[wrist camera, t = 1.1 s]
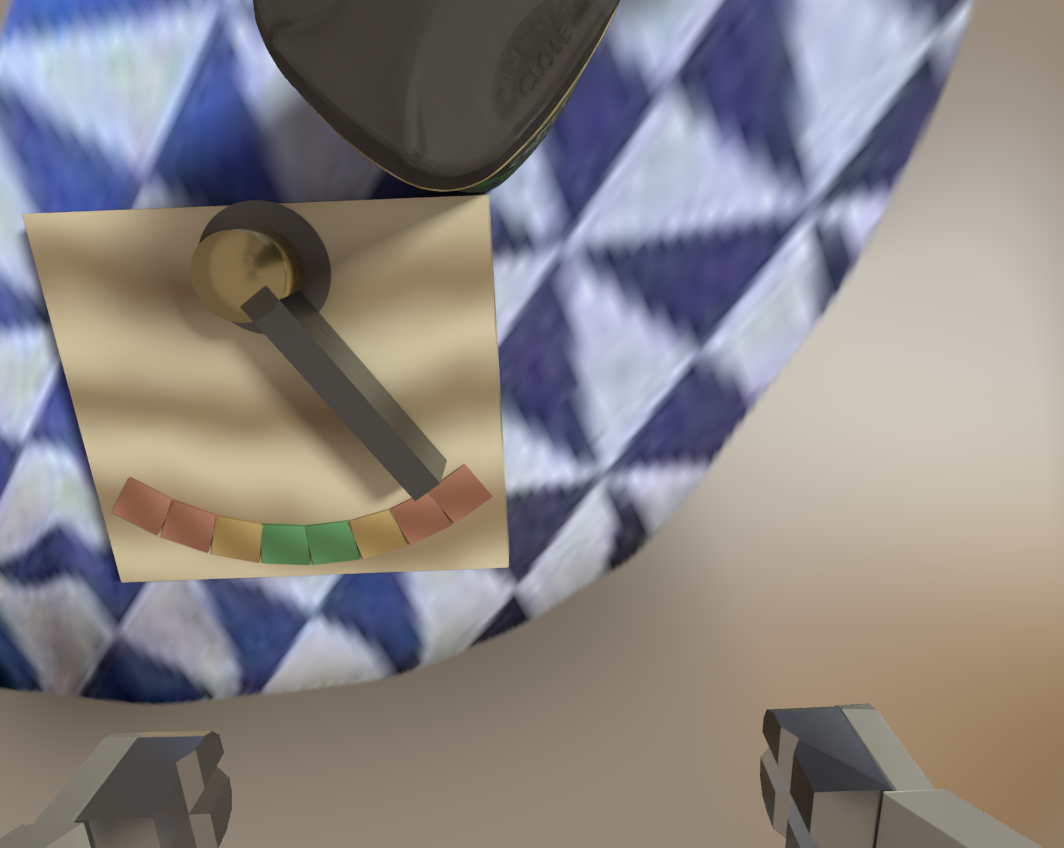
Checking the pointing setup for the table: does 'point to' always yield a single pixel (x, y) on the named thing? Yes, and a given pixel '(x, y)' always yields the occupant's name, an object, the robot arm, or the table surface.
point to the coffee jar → (436, 77)
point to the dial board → (280, 389)
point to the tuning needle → (311, 346)
